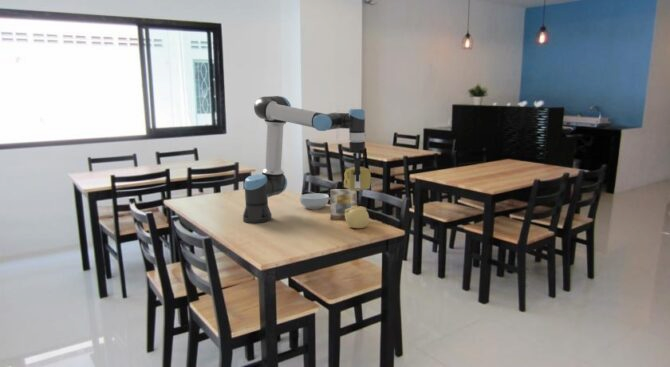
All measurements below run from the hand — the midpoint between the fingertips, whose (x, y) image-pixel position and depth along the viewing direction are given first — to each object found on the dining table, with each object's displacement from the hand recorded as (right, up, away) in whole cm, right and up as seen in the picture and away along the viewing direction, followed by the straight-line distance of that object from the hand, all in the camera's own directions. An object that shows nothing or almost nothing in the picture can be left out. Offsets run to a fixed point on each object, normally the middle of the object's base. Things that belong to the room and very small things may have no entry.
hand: (357, 185), depth 228 cm
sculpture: (0, -21, +4) cm, 21 cm away
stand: (-6, -18, +20) cm, 27 cm away
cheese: (0, -1, 0) cm, 2 cm away
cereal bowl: (-23, -13, +44) cm, 51 cm away
